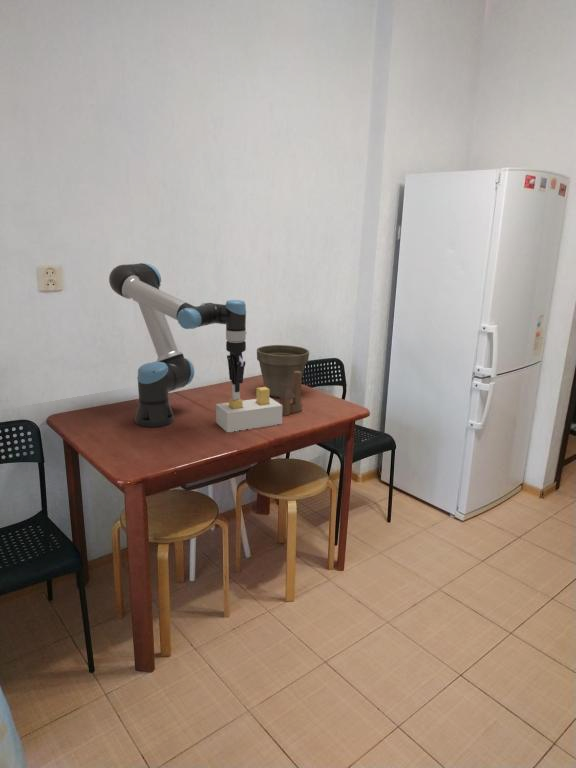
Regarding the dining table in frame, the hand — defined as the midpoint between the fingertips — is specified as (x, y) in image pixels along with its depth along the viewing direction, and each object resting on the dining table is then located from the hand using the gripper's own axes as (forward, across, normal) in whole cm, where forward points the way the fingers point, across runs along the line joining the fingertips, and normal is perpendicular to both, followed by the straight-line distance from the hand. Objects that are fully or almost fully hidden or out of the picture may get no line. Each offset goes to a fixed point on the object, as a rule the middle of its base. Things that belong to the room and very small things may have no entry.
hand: (236, 398), depth 213 cm
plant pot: (+12, +32, -38) cm, 50 cm away
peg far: (+5, 0, -12) cm, 13 cm away
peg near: (+8, 0, 0) cm, 8 cm away
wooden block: (+12, +5, -28) cm, 31 cm away
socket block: (+11, 0, -6) cm, 13 cm away
